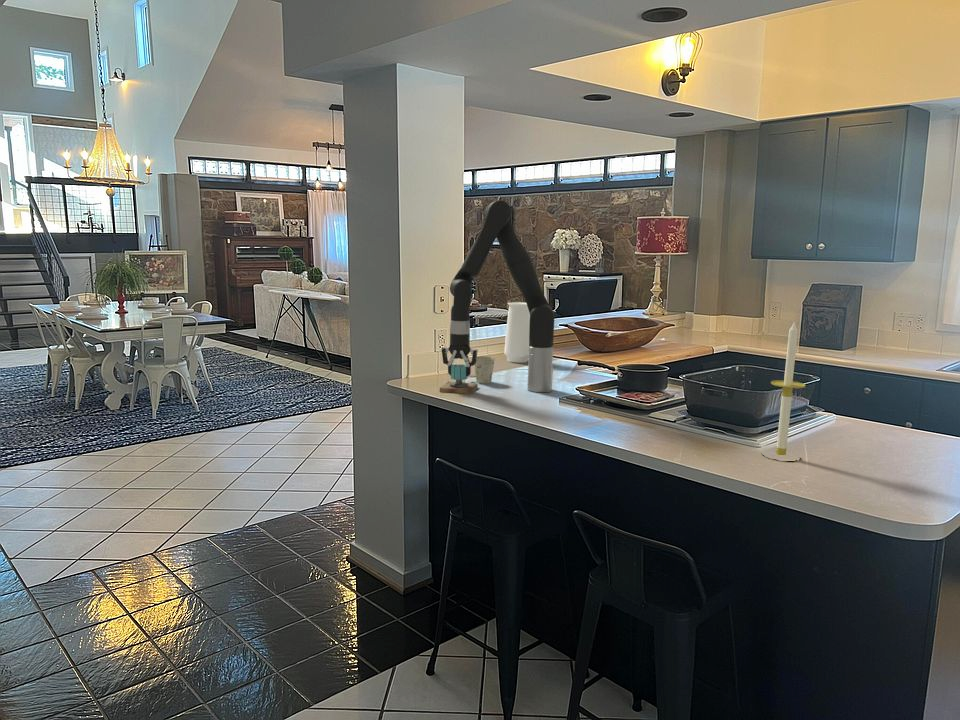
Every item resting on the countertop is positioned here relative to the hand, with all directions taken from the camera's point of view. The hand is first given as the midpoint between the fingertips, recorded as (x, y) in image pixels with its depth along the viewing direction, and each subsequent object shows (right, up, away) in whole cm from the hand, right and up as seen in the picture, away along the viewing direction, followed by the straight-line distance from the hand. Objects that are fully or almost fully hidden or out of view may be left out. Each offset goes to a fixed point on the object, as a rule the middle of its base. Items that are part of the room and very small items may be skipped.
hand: (459, 375), depth 258 cm
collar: (0, -1, 0) cm, 1 cm away
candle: (+90, -21, -74) cm, 119 cm away
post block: (0, -6, +1) cm, 6 cm away
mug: (+7, -3, +16) cm, 18 cm away
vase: (+26, +5, +68) cm, 73 cm away
